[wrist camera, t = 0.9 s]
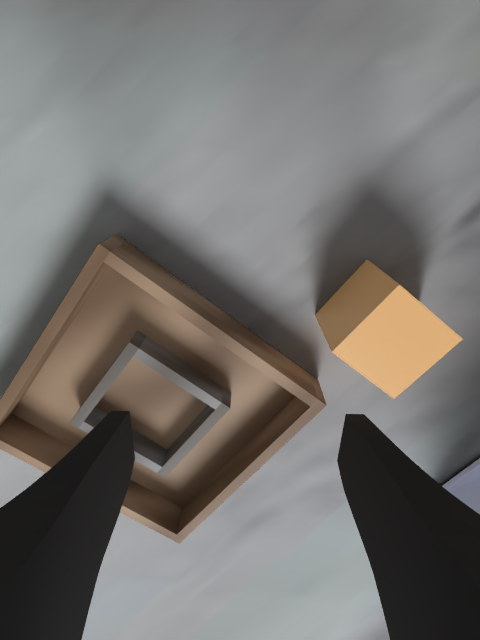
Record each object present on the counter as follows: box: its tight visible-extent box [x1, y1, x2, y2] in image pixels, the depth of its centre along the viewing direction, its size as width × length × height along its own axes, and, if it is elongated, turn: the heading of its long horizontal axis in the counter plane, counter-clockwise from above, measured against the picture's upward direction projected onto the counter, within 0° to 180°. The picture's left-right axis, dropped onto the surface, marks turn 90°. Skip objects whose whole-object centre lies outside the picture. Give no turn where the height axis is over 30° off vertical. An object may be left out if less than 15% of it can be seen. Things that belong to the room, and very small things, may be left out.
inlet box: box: [0, 234, 326, 543], centre depth 22 cm, size 14×14×2 cm
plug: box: [315, 260, 462, 399], centre depth 18 cm, size 4×4×4 cm
